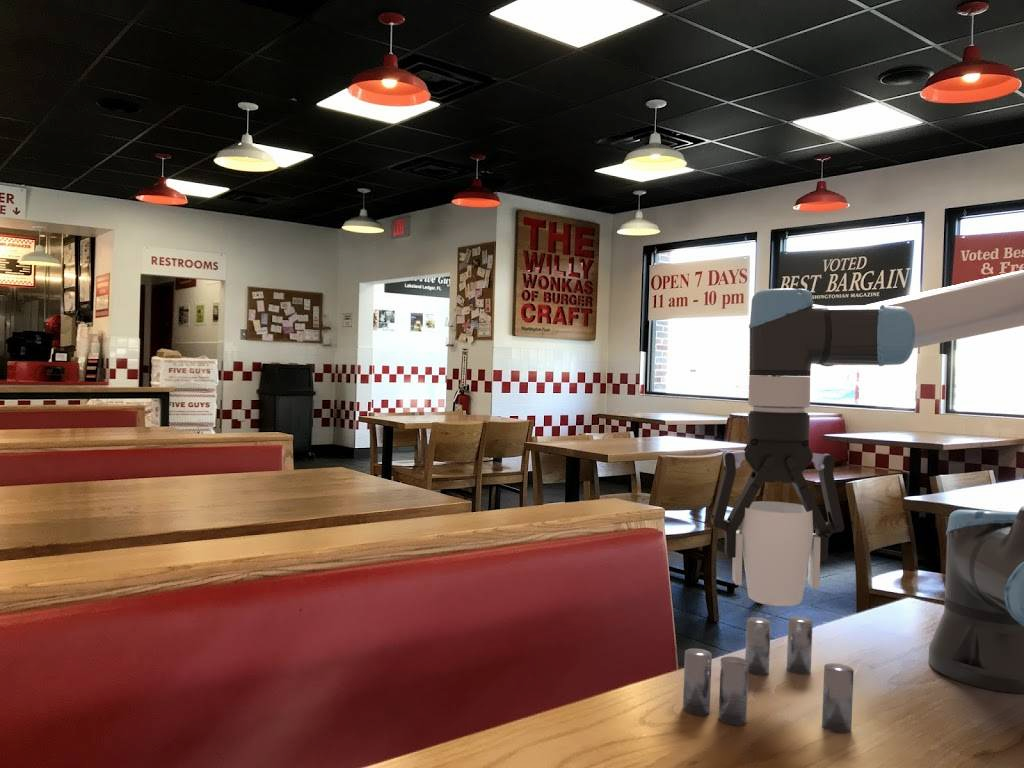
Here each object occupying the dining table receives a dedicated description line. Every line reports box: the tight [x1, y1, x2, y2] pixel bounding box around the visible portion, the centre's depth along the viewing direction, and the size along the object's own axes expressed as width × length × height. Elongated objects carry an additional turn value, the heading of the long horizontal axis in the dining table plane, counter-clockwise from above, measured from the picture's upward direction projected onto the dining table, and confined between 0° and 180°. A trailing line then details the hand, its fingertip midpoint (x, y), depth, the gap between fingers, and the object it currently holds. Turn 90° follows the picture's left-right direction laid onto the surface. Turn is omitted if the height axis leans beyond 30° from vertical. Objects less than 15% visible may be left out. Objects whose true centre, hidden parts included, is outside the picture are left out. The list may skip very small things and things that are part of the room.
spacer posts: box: [682, 616, 854, 734], centre depth 104 cm, size 19×21×7 cm
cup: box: [739, 500, 814, 607], centre depth 103 cm, size 9×9×12 cm
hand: (775, 583), depth 103 cm, fingers closed on cup, 9 cm apart
